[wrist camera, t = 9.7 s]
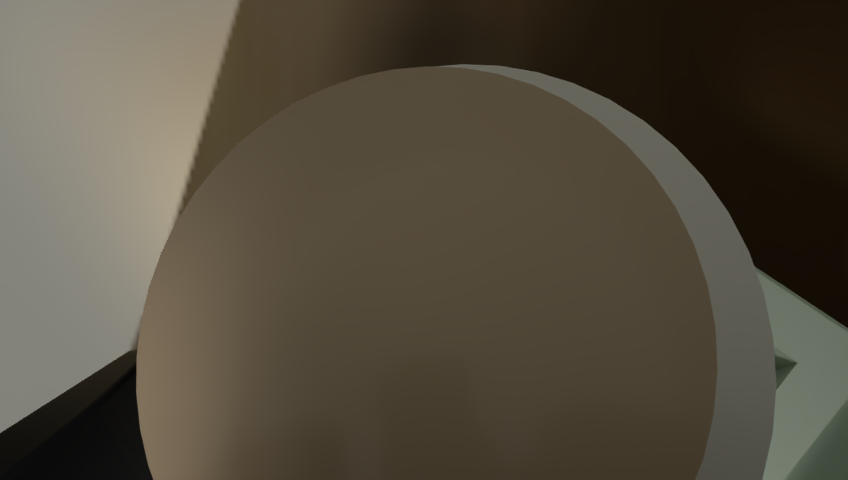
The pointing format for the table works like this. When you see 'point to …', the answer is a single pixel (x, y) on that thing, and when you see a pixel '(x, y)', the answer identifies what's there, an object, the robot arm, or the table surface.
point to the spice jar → (455, 297)
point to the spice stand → (807, 389)
